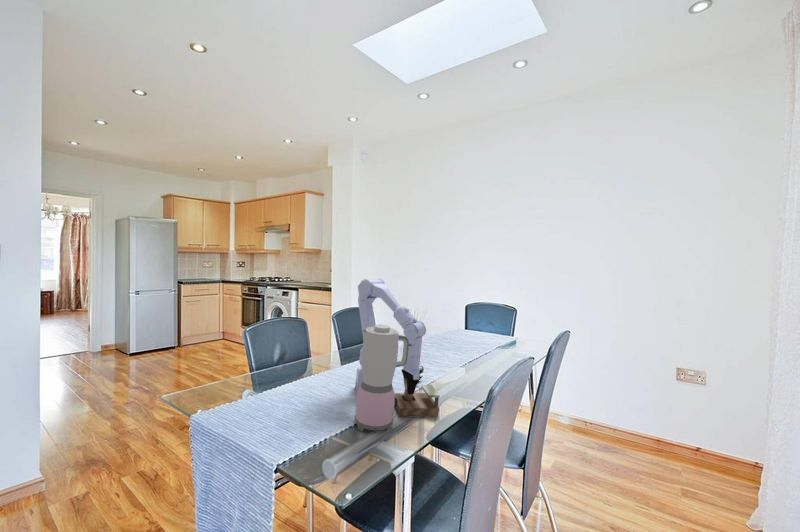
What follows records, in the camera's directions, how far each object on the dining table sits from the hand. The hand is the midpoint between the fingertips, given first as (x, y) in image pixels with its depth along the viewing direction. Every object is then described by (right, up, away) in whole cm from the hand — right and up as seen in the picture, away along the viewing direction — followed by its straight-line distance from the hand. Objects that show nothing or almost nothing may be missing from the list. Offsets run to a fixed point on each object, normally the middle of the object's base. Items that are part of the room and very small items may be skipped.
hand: (409, 391), depth 129 cm
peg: (0, -3, 0) cm, 3 cm away
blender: (-10, -5, -14) cm, 19 cm away
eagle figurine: (+3, -5, +25) cm, 25 cm away
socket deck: (+2, -6, -1) cm, 6 cm away
